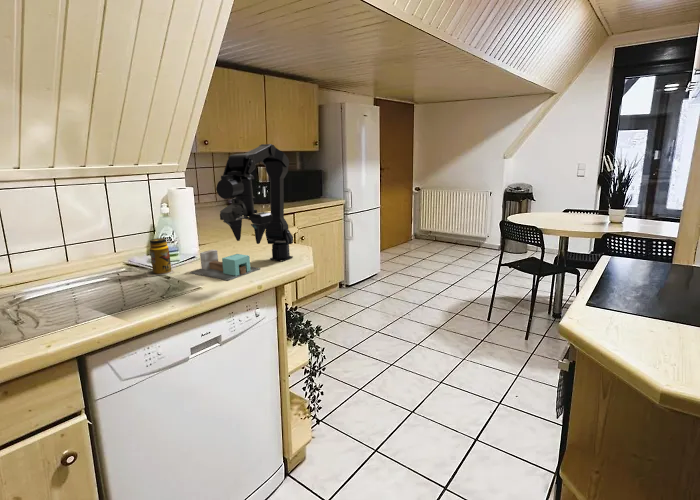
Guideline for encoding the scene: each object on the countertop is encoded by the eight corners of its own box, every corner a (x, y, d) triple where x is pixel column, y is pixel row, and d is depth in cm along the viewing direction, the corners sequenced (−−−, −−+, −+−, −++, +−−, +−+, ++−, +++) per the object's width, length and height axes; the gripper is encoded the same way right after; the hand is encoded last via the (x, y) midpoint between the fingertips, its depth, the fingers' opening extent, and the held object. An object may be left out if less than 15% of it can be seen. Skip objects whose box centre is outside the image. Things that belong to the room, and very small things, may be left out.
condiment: (174, 272, 142) (170, 239, 139) (148, 277, 138) (143, 243, 135) (170, 268, 148) (166, 236, 145) (145, 272, 143) (140, 239, 141)
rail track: (223, 262, 153) (221, 246, 152) (260, 269, 144) (258, 252, 142) (189, 273, 141) (187, 255, 140) (227, 280, 131) (225, 262, 130)
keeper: (238, 268, 144) (237, 253, 142) (250, 270, 141) (249, 255, 139) (223, 273, 138) (221, 258, 137) (235, 275, 135) (234, 260, 134)
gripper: (203, 196, 127) (209, 244, 131) (245, 199, 117) (250, 251, 121) (231, 192, 136) (235, 237, 140) (271, 194, 126) (275, 243, 130)
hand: (248, 242), depth 133 cm, fingers open, 9 cm apart
